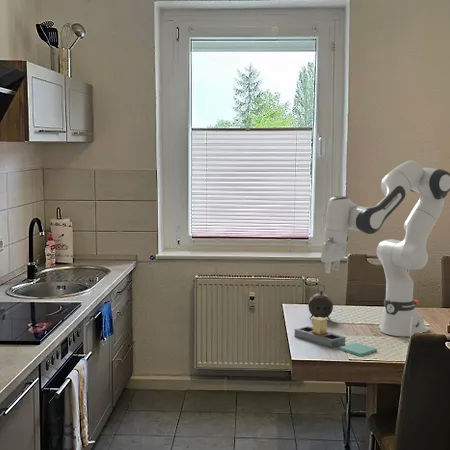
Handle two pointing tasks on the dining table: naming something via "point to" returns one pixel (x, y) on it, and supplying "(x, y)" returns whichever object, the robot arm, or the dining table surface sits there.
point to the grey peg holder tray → (320, 337)
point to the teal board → (358, 349)
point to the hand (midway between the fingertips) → (331, 271)
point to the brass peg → (319, 326)
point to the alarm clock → (320, 305)
